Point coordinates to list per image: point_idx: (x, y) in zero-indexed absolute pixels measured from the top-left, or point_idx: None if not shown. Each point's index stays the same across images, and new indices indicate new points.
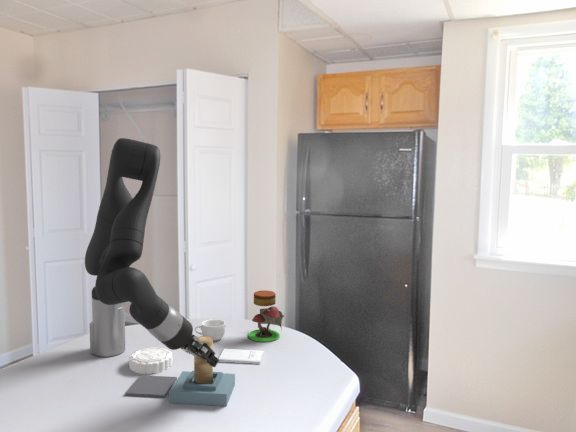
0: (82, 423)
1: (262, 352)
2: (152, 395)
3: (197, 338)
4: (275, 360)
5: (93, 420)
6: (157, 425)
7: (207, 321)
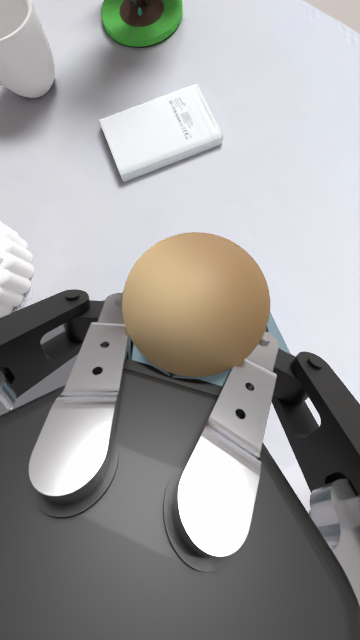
0: None
1: (199, 92)
2: None
3: (253, 477)
4: (242, 109)
5: None
6: None
7: None
